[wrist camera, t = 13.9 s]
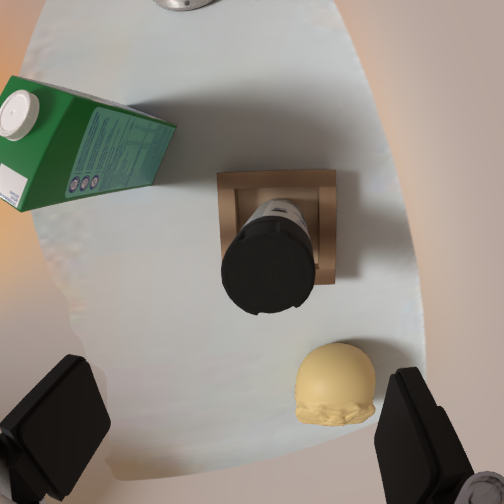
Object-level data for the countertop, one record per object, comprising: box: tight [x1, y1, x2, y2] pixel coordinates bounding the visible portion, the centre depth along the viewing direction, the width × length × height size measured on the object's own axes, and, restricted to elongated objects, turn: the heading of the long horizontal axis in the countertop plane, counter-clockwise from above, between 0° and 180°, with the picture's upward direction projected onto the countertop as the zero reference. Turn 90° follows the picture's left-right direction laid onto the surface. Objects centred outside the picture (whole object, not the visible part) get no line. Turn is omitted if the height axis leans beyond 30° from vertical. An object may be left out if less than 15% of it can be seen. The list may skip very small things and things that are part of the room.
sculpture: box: [295, 343, 376, 426], centre depth 41 cm, size 11×12×11 cm
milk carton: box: [0, 76, 177, 212], centre depth 29 cm, size 9×9×25 cm
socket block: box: [217, 170, 336, 285], centre depth 40 cm, size 14×14×4 cm
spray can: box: [221, 198, 316, 315], centre depth 31 cm, size 7×7×20 cm
